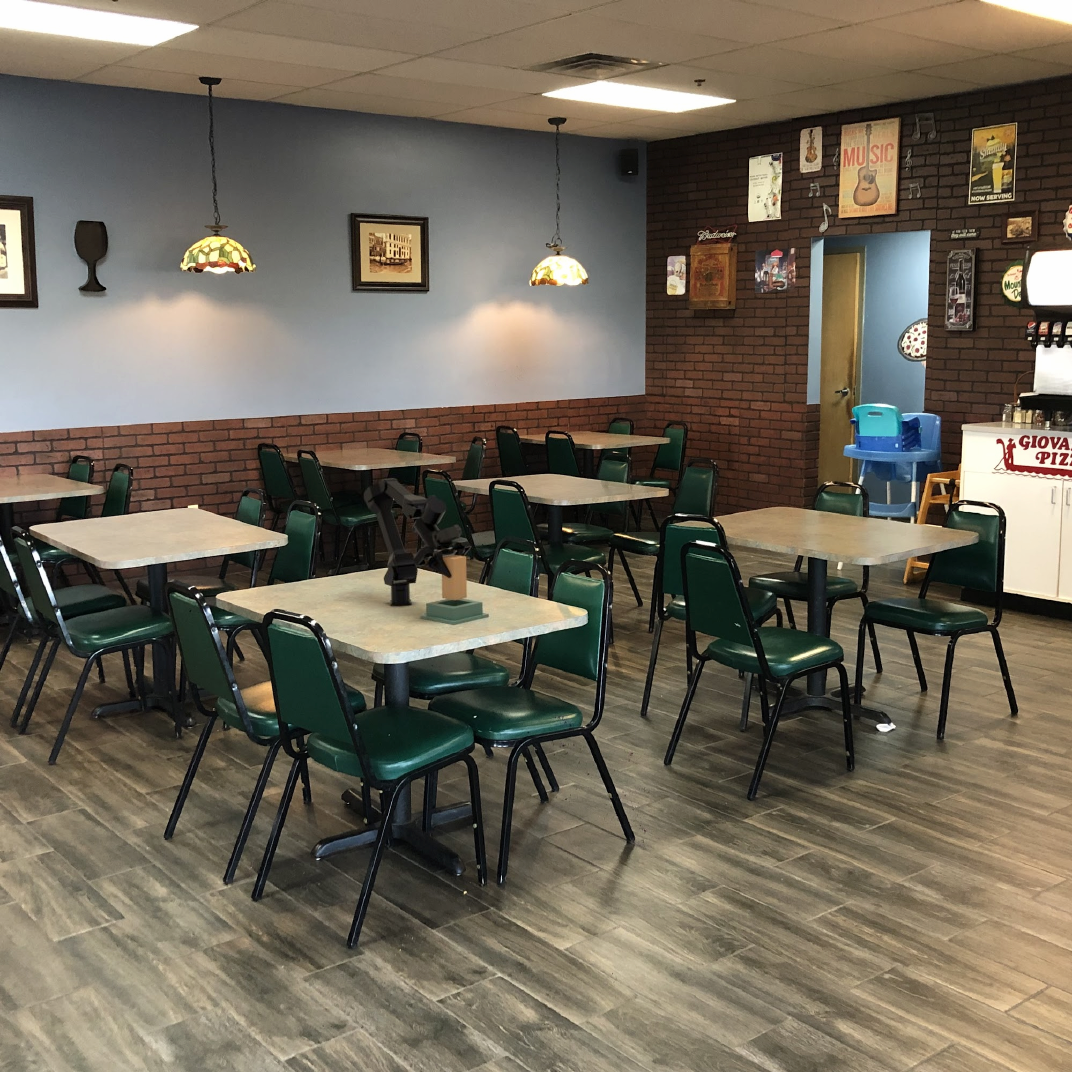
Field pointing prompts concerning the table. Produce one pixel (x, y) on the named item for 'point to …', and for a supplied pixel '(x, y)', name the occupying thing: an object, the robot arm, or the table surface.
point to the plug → (455, 578)
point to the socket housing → (454, 611)
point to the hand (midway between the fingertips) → (457, 575)
